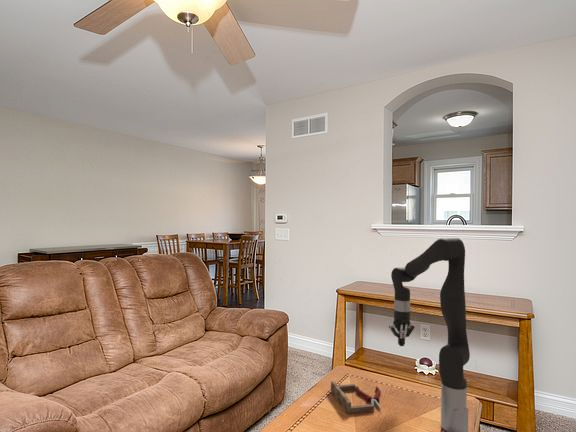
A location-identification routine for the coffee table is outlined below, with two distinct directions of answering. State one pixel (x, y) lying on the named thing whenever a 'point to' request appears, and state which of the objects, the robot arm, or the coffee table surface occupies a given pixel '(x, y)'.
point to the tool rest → (345, 402)
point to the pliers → (369, 398)
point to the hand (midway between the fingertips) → (401, 345)
